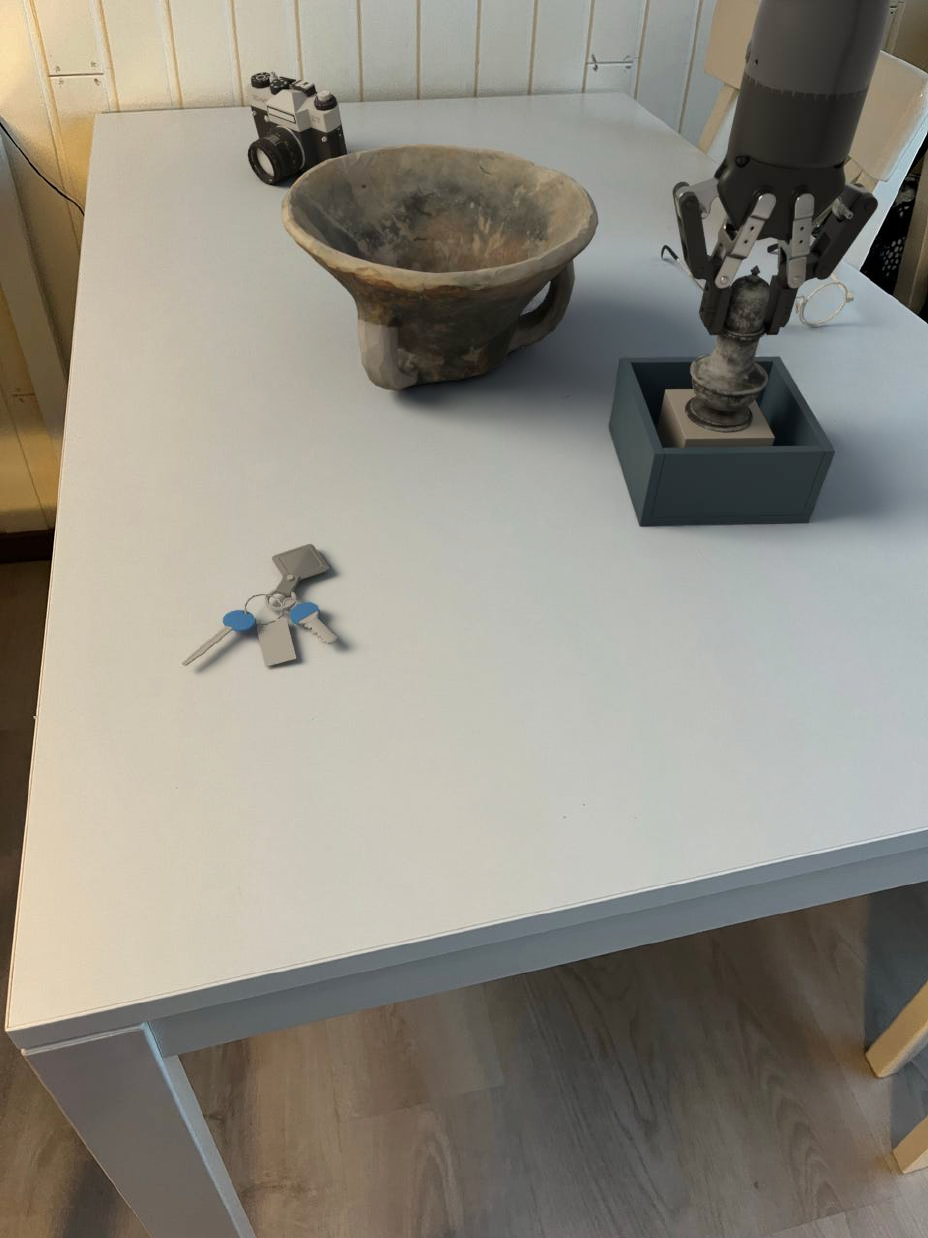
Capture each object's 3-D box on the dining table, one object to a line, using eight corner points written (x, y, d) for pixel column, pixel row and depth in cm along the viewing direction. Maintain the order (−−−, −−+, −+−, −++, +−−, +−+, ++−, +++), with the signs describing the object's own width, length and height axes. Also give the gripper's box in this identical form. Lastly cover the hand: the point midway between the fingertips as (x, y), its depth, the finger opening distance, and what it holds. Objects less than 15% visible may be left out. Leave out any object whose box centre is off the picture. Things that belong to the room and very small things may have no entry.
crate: (759, 425, 84) (779, 355, 80) (809, 523, 75) (836, 451, 70) (607, 426, 83) (619, 357, 79) (639, 526, 74) (654, 453, 69)
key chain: (289, 541, 71) (288, 533, 70) (389, 572, 69) (389, 564, 68) (181, 668, 62) (178, 660, 61) (292, 709, 60) (291, 700, 59)
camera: (225, 175, 124) (201, 95, 116) (285, 138, 128) (266, 59, 120) (302, 207, 117) (282, 125, 109) (362, 167, 122) (348, 86, 114)
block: (735, 439, 81) (749, 388, 78) (758, 489, 76) (775, 437, 73) (654, 440, 81) (665, 388, 77) (673, 491, 76) (685, 438, 72)
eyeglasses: (711, 340, 95) (722, 293, 91) (648, 258, 108) (655, 213, 104) (857, 329, 98) (873, 282, 94) (778, 250, 110) (790, 206, 107)
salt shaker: (676, 391, 77) (708, 245, 69) (749, 394, 77) (789, 249, 69) (686, 432, 73) (721, 282, 64) (763, 436, 73) (808, 286, 64)
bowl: (442, 475, 78) (446, 302, 67) (238, 355, 90) (214, 192, 79) (633, 357, 92) (662, 199, 82) (435, 267, 104) (437, 119, 94)
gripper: (709, 86, 55) (656, 357, 67) (946, 90, 56) (852, 355, 68) (679, 49, 60) (635, 306, 72) (896, 52, 61) (816, 305, 73)
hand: (740, 328), depth 70 cm, fingers closed on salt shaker, 3 cm apart
